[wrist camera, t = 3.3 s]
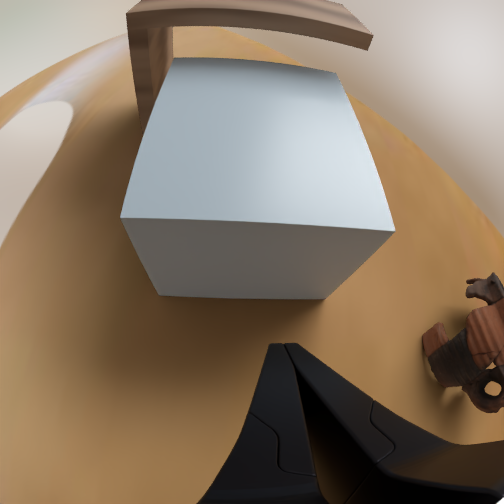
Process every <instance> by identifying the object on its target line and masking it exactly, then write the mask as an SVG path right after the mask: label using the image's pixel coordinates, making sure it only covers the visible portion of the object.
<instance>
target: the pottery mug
mask: <svg viewBox="0 0 504 504" xmlns="http://www.w3.org/2000/svg"><path fill="white" fill-rule="evenodd" d="M466 283H467V284H473V285H471V286H468V287H467V289H466V297H467V298H473V297H476V298H479V299H482V300H484V301H486V302H487V304H488V306H486V307H481V308H478V309H474V310H472V312H471V313H470V314H469V315H468V317H467V320H466V328H464V329H463V330H461V331H460V332H459V333H458V334H457V335H456V336H455V337H454V338H453V339H452V340H450V341H449V339H448V337H447V336H446V333H445V330H444V327H443V324H442V323H440V322H439V323H437V324H435V325H434V326H433V327H432V328H431V329H429V330H428V331H427V332H426V333H424V334H423V336H422V338H423V345H424V350H425V352H426V355H427V357H428V361H429V363H430V366H431V370H432V372H433V373H434V375H435V378H436V379H437V381H438V382H439V383H440V384H441V385H442V386H444V387H445V388H447V387H453V386H455V387H457V386H462V390H463V391H464V392H466V393H467V394H468V396H469V398H470V399H471V401H472V402H473V404H474V405H475V406H476V407H477V408H478V409H479V410H481V411H484V412H486V413H493V412H494V413H497V412H498V411H499V409H500V408H501V407H504V287H503V285H502V283H501V281H500V280H499V278H498V276H496V275H495V273H494V272H493V273H492V274H491V275H490V276H489V277H488V278H487V279H480V278H477V279H476V278H474V279H470V280H467V281H466ZM492 362H493V363H494V365H496V367H495V368H493V369H486V368H487V367H488V366H489V365H490V364H491V363H492ZM490 381H494V382H496V383H499V384H500V385H501V388H502V389H501V392H500V393H499V395H497V396H492V395H489V394H487V393H486V392H485V389H484V388H485V386H486V385H487V384H488V383H489V382H490Z"/></svg>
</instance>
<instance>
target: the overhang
mask: <svg viewBox="0 0 504 504" xmlns="http://www.w3.org/2000/svg"><path fill="white" fill-rule="evenodd" d="M126 19H127V29H128V39H129V48H130V56H131V64H132V72H133V79H134V85H135V92H136V98H137V104H138V110H139V116H140V122H141V127H142V132H143V136H144V133H145V130H146V127H147V124H148V121H149V118H150V116H151V113H152V110H153V108H154V105H155V102H156V100H157V97H158V95H159V92H160V90H161V87H162V85H163V82H164V80H165V78H166V75H167V73H168V71H169V68H170V66H171V64H172V61H173V27H174V26H223V27H241V28H253V29H263V30H272V31H279V32H286V33H292V34H299V35H304V36H309V37H315V38H320V39H324V40H328V41H333V42H337V43H341V44H345V45H349V46H353V47H356V48H360V49H364V50H367V51H368V48H369V46H370V43H371V41H372V38H373V34H372V33H371V32H370V31H369V30H368V29H367V28H366V27H365V26H364V25H363V24H362V23H361V22H360V21H359V20H358V19H357V18H356V17H355V16H354V15H353V14H352V13H351V12H350V11H348V9H346V8H345V7H344V6H343V5H342V4H339V3H335V2H331V1H327V0H141V1H140V2H139V3H138V4H136V5H135V6H134V7H133V8H132V9H130V10H129V11H128V12H127V13H126Z"/></svg>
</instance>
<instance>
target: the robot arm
mask: <svg viewBox="0 0 504 504" xmlns="http://www.w3.org/2000/svg"><path fill="white" fill-rule="evenodd" d="M197 504H504V440H502V441H495V442H488V443H481V444H472V445H459V444H454V443H451V442H448V441H446V440H443V439H441V438H439V437H437V436H435V435H433V434H432V433H430V432H428V431H426V430H424V429H422V428H420V427H418V426H416V425H414V424H412V423H411V422H409V421H407V420H405V419H403V418H402V417H400V416H398V415H397V414H395V413H393V412H392V411H390V410H389V409H387V408H386V407H384V406H383V405H381V404H380V403H379V402H377V401H376V400H374V401H373V398H371V397H370V396H368V395H367V394H366V393H364V392H363V391H361V390H360V389H359V388H357V387H356V386H354V385H353V384H352V383H350V382H349V381H347V380H346V379H345V378H343V377H342V376H341V375H339V374H338V373H336V372H335V371H334V370H332V369H331V368H330V367H328V366H327V365H326V364H324V363H323V362H322V361H320V360H319V359H318V358H316V357H315V356H314V355H312V354H311V353H310V352H308V351H307V350H306V349H304V348H303V347H302V346H300V345H299V344H298V343H285V344H282V343H271V344H269V346H268V350H267V353H266V356H265V360H264V363H263V366H262V369H261V373H260V376H259V379H258V382H257V385H256V389H255V392H254V395H253V398H252V401H251V404H250V407H249V410H248V414H247V416H246V419H245V422H244V425H243V428H242V430H241V433H240V435H239V438H238V439H237V441H236V443H235V445H234V447H233V449H232V451H231V453H230V455H229V456H228V458H227V460H226V461H225V463H224V465H223V466H222V468H221V470H220V471H219V473H218V475H217V476H216V478H215V479H214V481H213V483H212V484H211V486H210V487H209V489H208V490H207V491H206V493H205V494H204V496H203V497H202V498H201V499H200V500H199V501H198V503H197Z"/></svg>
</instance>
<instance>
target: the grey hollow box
mask: <svg viewBox="0 0 504 504" xmlns="http://www.w3.org/2000/svg"><path fill="white" fill-rule="evenodd" d="M120 219H121V221H122V223H123V225H124V227H125V230H126V232H127V234H128V236H129V238H130V240H131V242H132V244H133V246H134V248H135V250H136V252H137V254H138V256H139V258H140V260H141V262H142V264H143V266H144V268H145V270H146V272H147V274H148V276H149V278H150V280H151V282H152V284H153V286H154V287H155V289H156V291H157V293H158V295H161V296H181V297H205V298H238V299H326V298H327V297H328V296H329V295H330V294H331V293H332V292H333V291H335V290H336V289H337V288H338V287H339V286H340V285H341V284H342V283H343V282H344V281H345V280H346V279H348V278H349V277H350V276H351V275H352V274H353V273H354V272H355V271H356V270H357V269H358V268H359V267H360V266H361V265H362V264H363V263H364V262H365V261H366V260H367V259H368V258H369V257H370V256H371V255H372V254H374V253H375V252H376V251H377V250H378V249H379V248H380V247H381V246H382V245H383V244H384V243H385V242H386V241H387V239H388V238H389V237H390V236H391V235H392V234H393V233H394V232H395V228H394V224H393V221H392V217H391V214H390V210H389V207H388V203H387V200H386V197H385V194H384V191H383V187H382V184H381V181H380V178H379V175H378V172H377V170H376V167H375V164H374V161H373V158H372V156H371V153H370V150H369V148H368V145H367V142H366V140H365V137H364V135H363V132H362V130H361V127H360V125H359V122H358V120H357V118H356V115H355V113H354V111H353V108H352V106H351V104H350V102H349V99H348V97H347V95H346V93H345V91H344V89H343V87H342V84H341V83H340V80H339V78H338V76H337V74H336V73H333V72H329V71H324V70H318V69H313V68H308V67H302V66H296V65H289V64H282V63H274V62H265V61H256V60H244V59H229V58H174V59H173V61H172V64H171V66H170V68H169V71H168V73H167V75H166V78H165V80H164V82H163V85H162V87H161V90H160V92H159V95H158V97H157V100H156V102H155V105H154V108H153V110H152V113H151V116H150V118H149V121H148V124H147V127H146V130H145V133H144V136H143V139H142V142H141V145H140V148H139V151H138V154H137V157H136V160H135V164H134V167H133V170H132V174H131V177H130V181H129V185H128V188H127V192H126V196H125V200H124V204H123V208H122V212H121V216H120Z"/></svg>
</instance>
